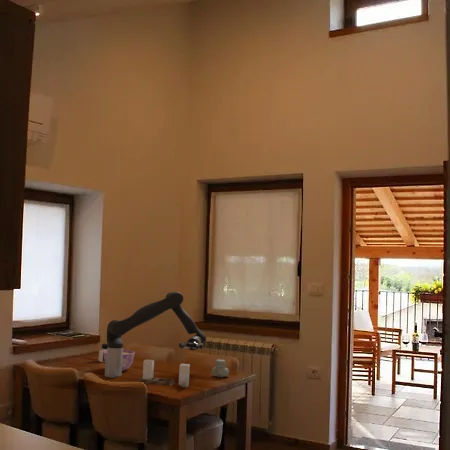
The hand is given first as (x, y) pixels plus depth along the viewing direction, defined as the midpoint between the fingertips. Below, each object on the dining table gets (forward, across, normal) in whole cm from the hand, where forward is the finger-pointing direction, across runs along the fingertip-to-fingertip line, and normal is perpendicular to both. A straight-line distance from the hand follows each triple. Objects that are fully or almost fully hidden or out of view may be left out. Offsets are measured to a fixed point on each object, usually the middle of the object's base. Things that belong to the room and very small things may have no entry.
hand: (189, 347), depth 327 cm
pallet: (+12, -16, +20) cm, 28 cm away
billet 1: (+12, -21, +19) cm, 31 cm away
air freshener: (-22, +17, +21) cm, 35 cm away
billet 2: (+12, 0, +20) cm, 23 cm away
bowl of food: (-19, -48, +20) cm, 56 cm away
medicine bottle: (-44, -66, +20) cm, 82 cm away
